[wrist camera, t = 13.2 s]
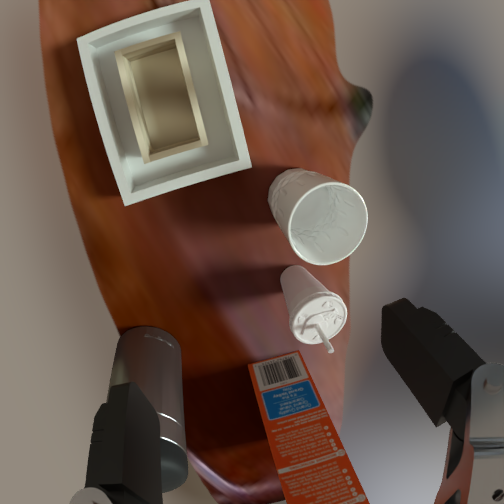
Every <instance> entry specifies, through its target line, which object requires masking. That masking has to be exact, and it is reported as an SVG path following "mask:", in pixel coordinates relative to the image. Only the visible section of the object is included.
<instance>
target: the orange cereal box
mask: <svg viewBox="0 0 504 504" xmlns="http://www.w3.org/2000/svg"><path fill="white" fill-rule="evenodd" d="M247 365H248V369H249V372H250V376H251V380H252V384H253V387H254V391H255V395H256V398H257V402H258V406H259V409H260V413H261V416H262V420H263V424H264V427H265V431H266V434H267V438H268V441H269V445H270V448H271V452H272V455H273V459H274V462H275V466H276V469H277V472H278V476H279V479H280V482H281V486H282V489H283V492H284V496H285V499H286V502H287V504H370V503H369V501H368V499H367V497H366V495H365V492H364V490H363V488H362V486H361V484H360V482H359V479H358V477H357V475H356V473H355V471H354V469H353V467H352V464H351V462H350V460H349V458H348V456H347V453H346V451H345V449H344V447H343V445H342V442H341V440H340V438H339V436H338V434H337V432H336V429H335V427H334V425H333V423H332V421H331V419H330V416H329V414H328V412H327V410H326V408H325V406H324V403H323V401H322V399H321V397H320V395H319V393H318V390H317V388H316V386H315V384H314V382H313V380H312V377H311V375H310V373H309V371H308V369H307V367H306V364H305V362H304V360H303V358H302V356H301V354H300V351H299V350H298V351H295V352H292V353H288V354H285V355H281V356H277V357H274V358H270V359H266V360H263V361H259V362H255V363H251V364H247Z"/></svg>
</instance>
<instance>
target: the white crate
mask: <svg viewBox="0 0 504 504" xmlns="http://www.w3.org/2000/svg"><path fill="white" fill-rule="evenodd" d="M179 31H180V32H181V37H182V41H183V45H184V49H185V53H186V57H187V61H188V65H189V69H190V73H191V77H192V81H193V85H194V89H195V93H196V97H197V101H198V105H199V109H200V112H201V116H202V120H203V124H204V128H205V132H206V136H207V140H208V144H209V145H206V146H202V147H199V148H195V149H192V150H188V151H185V152H181V153H178V154H175V155H171V156H168V157H165V158H162V159H158V160H155V161H152V162H149V163H146V164H144V162H143V158H142V155H141V152H140V148H139V145H138V141H137V138H136V135H135V131H134V127H133V124H132V120H131V117H130V113H129V109H128V106H127V102H126V98H125V94H124V90H123V86H122V82H121V78H120V74H119V70H118V66H117V62H116V57H115V53H114V51H117V50H120V49H123V48H125V47H128V46H131V45H134V44H137V43H140V42H144V41H147V40H150V39H153V38H157V37H160V36H164V35H167V34H171V33H175V32H179ZM77 44H78V48H79V53H80V57H81V61H82V66H83V70H84V74H85V78H86V82H87V86H88V90H89V94H90V97H91V101H92V105H93V108H94V112H95V116H96V119H97V122H98V126H99V129H100V133H101V136H102V139H103V142H104V146H105V149H106V152H107V155H108V158H109V161H110V164H111V167H112V170H113V173H114V176H115V179H116V182H117V185H118V188H119V191H120V194H121V196H122V199H123V202H124V205H125V206H127V205H130V204H133V203H136V202H139V201H142V200H145V199H148V198H151V197H154V196H157V195H160V194H163V193H166V192H169V191H172V190H175V189H179V188H182V187H185V186H188V185H192V184H195V183H198V182H202V181H205V180H208V179H212V178H215V177H219V176H222V175H226V174H229V173H233V172H236V171H240V170H244V169H247V168H251V167H252V165H251V161H250V157H249V153H248V149H247V145H246V140H245V136H244V132H243V128H242V124H241V120H240V116H239V112H238V108H237V104H236V100H235V96H234V93H233V89H232V85H231V81H230V77H229V73H228V69H227V65H226V61H225V58H224V54H223V50H222V46H221V42H220V39H219V35H218V31H217V27H216V23H215V20H214V16H213V12H212V9H211V5H210V1H209V0H190V1H185V2H181V3H177V4H173V5H170V6H166V7H162V8H159V9H155V10H152V11H149V12H146V13H142V14H139V15H136V16H133V17H130V18H127V19H124V20H122V21H119V22H116V23H113V24H111V25H108V26H106V27H103V28H101V29H98V30H96V31H93V32H91V33H88V34H86V35H84V36H81V37H79V38H77Z"/></svg>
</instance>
